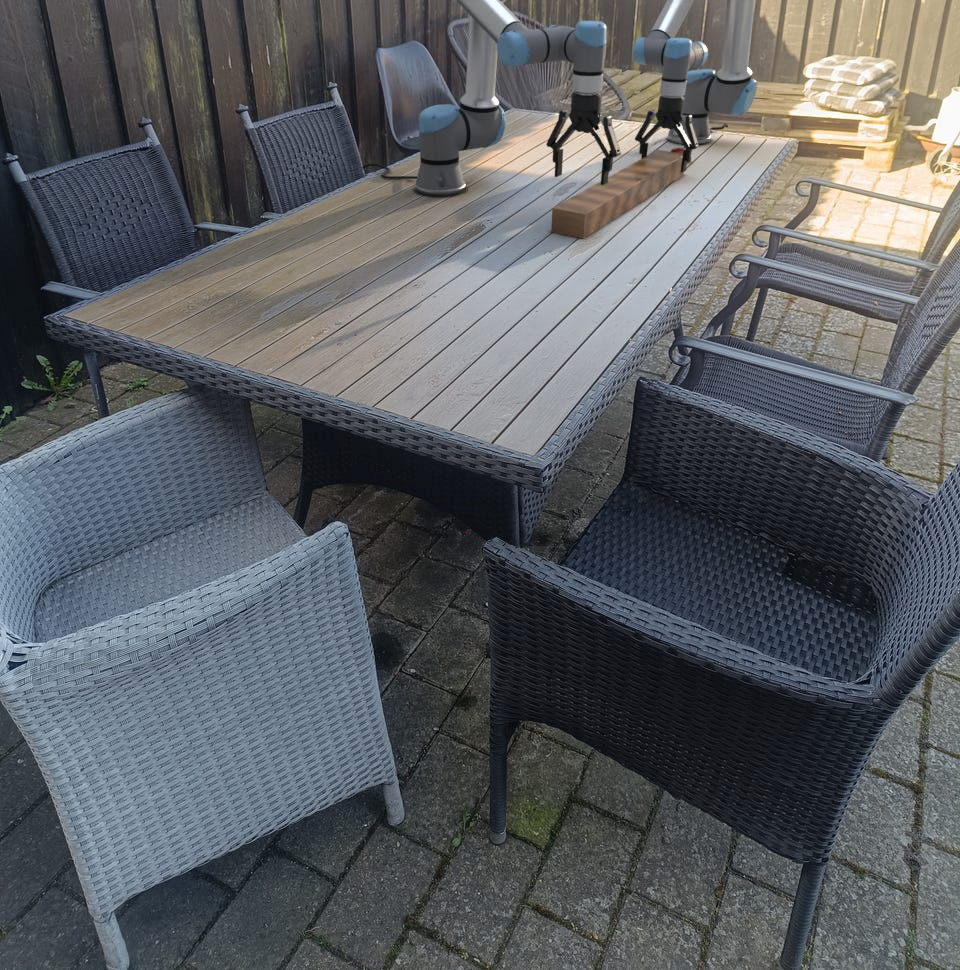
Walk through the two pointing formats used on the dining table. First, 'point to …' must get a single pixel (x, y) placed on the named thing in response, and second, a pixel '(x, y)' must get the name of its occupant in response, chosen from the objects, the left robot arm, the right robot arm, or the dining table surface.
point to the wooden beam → (616, 194)
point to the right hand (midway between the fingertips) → (662, 168)
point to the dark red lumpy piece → (678, 151)
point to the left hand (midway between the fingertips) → (580, 179)
